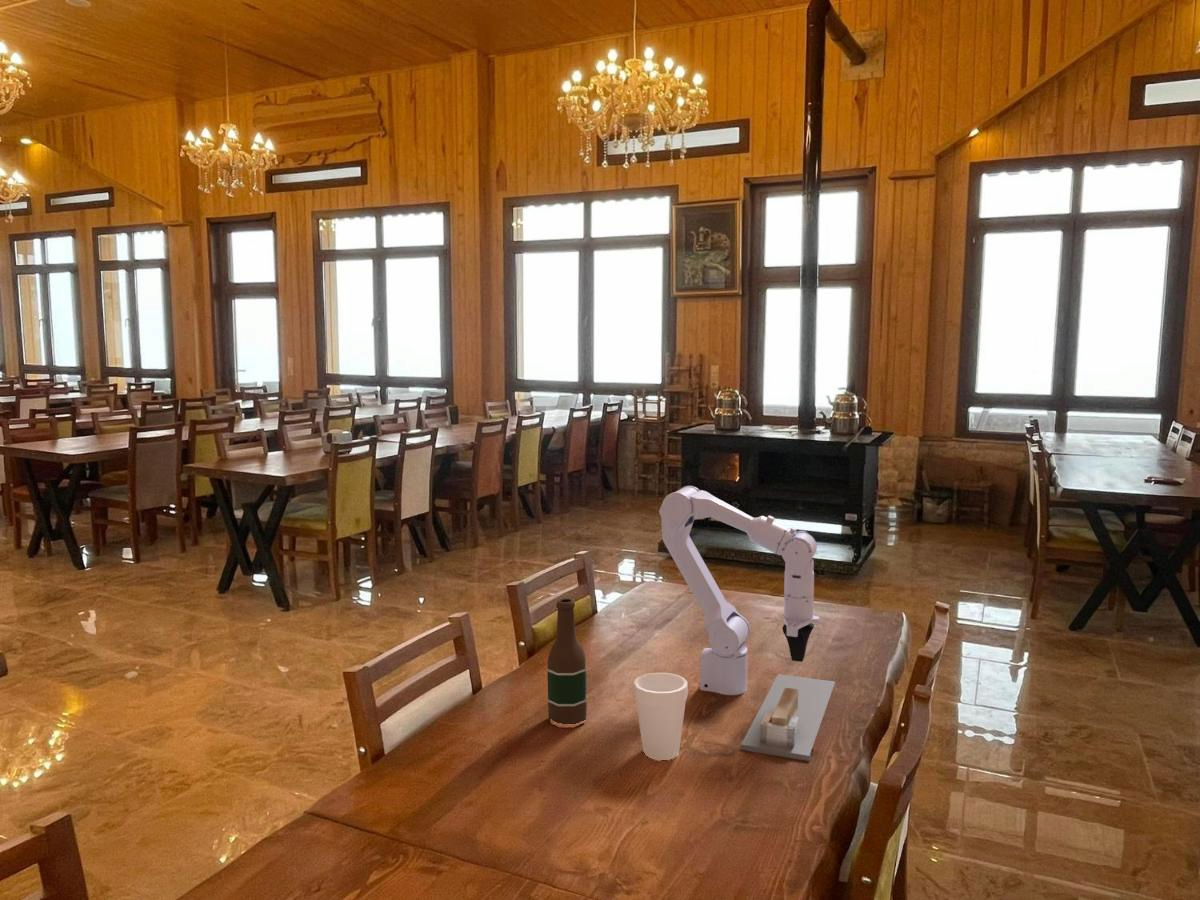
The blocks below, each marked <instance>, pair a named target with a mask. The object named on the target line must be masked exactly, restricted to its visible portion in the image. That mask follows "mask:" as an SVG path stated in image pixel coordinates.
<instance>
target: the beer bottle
mask: <svg viewBox="0 0 1200 900" xmlns="http://www.w3.org/2000/svg"><path fill="white" fill-rule="evenodd" d="M575 606H576V602H575V600H574V599H571V598H562V599H558V600H557V602H556V606H555V607H556V608H557V619H556V621H557V622H556V637H555V641H554V642H553V644H552V646H551V648H550V652H549V655H548V658H547V666H546V667H547V670H546V671H547V704H548V705H547V706H548V707H547V708H548V710H547V711H548V720H549V719H552V720H553V721H555V722H557V723H562V724H576V723H579V722H581V721H584V720H587V707H588V705H587V703H588V702H587V700H588V699H587V662H586V661H587V659H586V653H585V650H584V648H583V646H582V644H581V643H580V642H579V641H578V638H577V633H576V631H577V630H576V622H575V621H576V620H575Z"/></svg>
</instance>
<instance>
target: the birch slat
mask: <svg viewBox="0 0 1200 900" xmlns="http://www.w3.org/2000/svg"><path fill="white" fill-rule="evenodd" d="M797 713H798V689H792V688H785V689H784V691H783V693H782V696H781V698H780V700H779V702H778V704H777V707H776V709H775V711H774V713H773V715H772V723H774V724H781V725H787V726H788V725H789V722H790V720H791V718H792V715H793V716H796V715H797Z"/></svg>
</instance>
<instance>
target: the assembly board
mask: <svg viewBox="0 0 1200 900" xmlns="http://www.w3.org/2000/svg"><path fill="white" fill-rule="evenodd" d="M835 684H836V681H833V680H825V679H817V678H810V677H803V676H796V675H787V674H780V673H778V674H777V675H776V677H775V680H774V681H773V683H772V686H771V687H770V688H769V691H768V692H767V695H766V696H765V697H764V700H763V703H761V705H760V708H759V709H758V711H757V714H756V716H755V717H754V719H753V720H752V722H751V725H750V727H749V728H748V731H747V733H746V735H745V737H744V738H743V740H742V742H741V744H740V750H741V751H746V752H752V753H758V754H763V755H768V756H769V755H770V756H775V757H777V756H778V757H782V758H786V759H793V760H799V761H804V760H805V761H806V762H810V760H811V758H810V757H812V755H813V752H814V748H813V746H814V744H815V741H816V738H817V735H818V732H819V730H820V727H821V725H822V721H823V718H824V715H825V712H826V710H827V706H828V704H829V701H830V698H831V695H832V692H833V689H834V686H835ZM785 688H792V689H798V713H797V715H796V716H799V735H798V738H797V741H796V743H795V746H794V748H788V747H782V746H776V745H770V744H764V743H760V724H761V722H762V720H763V718H764V716H765V714H766V712H773V713H774V711H775V709H776V707H777V704H778V702H779V700H780V698H781V696H782V693H783V691H784V689H785Z"/></svg>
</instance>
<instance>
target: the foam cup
mask: <svg viewBox="0 0 1200 900" xmlns="http://www.w3.org/2000/svg"><path fill="white" fill-rule="evenodd" d="M688 684H689V683H688V680H686V679H685V678H684V677H683V676H680V675H679V674H676V673H671V672H666V671H665V672H649V673H645V674H642V675H640V676H638V677H636V678H635V679H634V682H633V696H634V699H635V704H636V705H635V706H636V711H637V712H636V713H637V719H638V724H639V725H638V726H639V731H640V732H639V733H640V738H641V739H640V740H641V747H642V751H643V752H644V753H645V755H646V756H648V757H649V758H652V759H657V760H668V761H671V760H670V759H672V760H674V759H676V758H677V757H678V756H679V754H680V748H681V747H680V746H681V739H682V733H683V725H684V717H685V708H686V703H687V702H686V700H687V699H688V695H689V691H688V690H689V689H688ZM644 753H643V754H644ZM645 755H644V756H645ZM646 756H645V757H646ZM675 757H676V758H675ZM649 758H648V759H649ZM673 758H674V759H673Z"/></svg>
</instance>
